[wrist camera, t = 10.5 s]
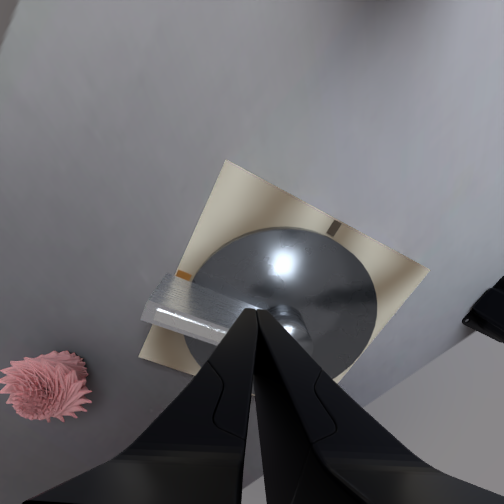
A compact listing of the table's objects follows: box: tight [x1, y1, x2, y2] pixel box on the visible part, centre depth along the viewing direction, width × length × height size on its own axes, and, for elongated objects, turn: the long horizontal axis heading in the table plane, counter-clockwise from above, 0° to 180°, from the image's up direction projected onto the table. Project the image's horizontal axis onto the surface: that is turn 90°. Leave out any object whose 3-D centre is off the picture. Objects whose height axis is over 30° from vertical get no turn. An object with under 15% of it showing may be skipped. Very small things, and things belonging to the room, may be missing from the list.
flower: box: [0, 350, 92, 422], centre depth 22 cm, size 8×8×6 cm
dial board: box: [138, 160, 430, 396], centre depth 22 cm, size 20×20×2 cm
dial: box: [140, 226, 377, 395], centre depth 19 cm, size 19×17×5 cm
